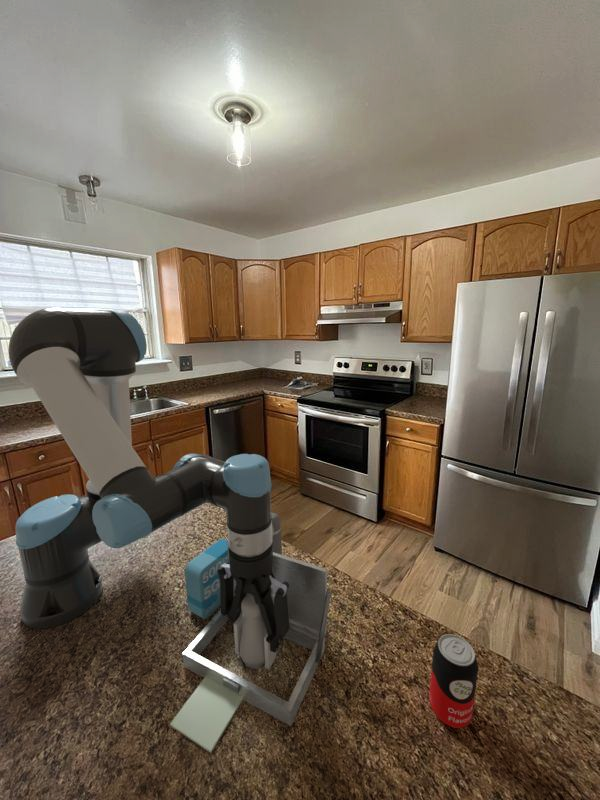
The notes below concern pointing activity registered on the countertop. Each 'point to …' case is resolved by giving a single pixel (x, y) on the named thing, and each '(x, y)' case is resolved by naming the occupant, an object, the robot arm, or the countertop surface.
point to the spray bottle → (276, 534)
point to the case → (305, 629)
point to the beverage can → (453, 681)
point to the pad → (206, 714)
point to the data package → (205, 579)
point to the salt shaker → (252, 634)
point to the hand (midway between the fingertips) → (255, 654)
